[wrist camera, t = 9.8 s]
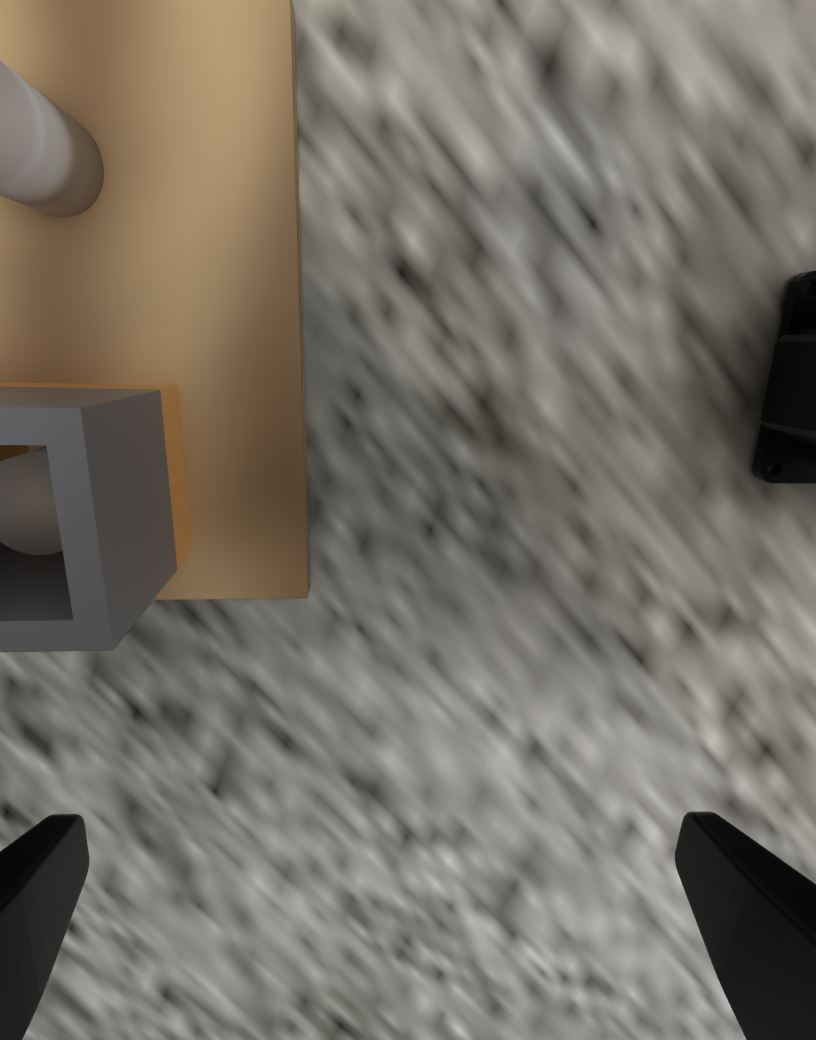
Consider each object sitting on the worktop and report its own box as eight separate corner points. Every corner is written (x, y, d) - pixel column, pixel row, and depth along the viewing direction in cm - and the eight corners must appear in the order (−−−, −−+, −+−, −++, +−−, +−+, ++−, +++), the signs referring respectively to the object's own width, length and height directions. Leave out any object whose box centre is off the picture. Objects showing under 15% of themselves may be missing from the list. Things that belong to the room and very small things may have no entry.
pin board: (294, 11, 15) (267, -123, 11) (310, 585, 20) (296, 654, 15) (-213, -26, 14) (-468, -190, 10) (-69, 589, 19) (-198, 663, 14)
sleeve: (192, 551, 18) (113, 650, 12) (21, 552, 17) (-144, 654, 12) (177, 385, 16) (80, 408, 11) (-10, 381, 16) (-215, 403, 10)
